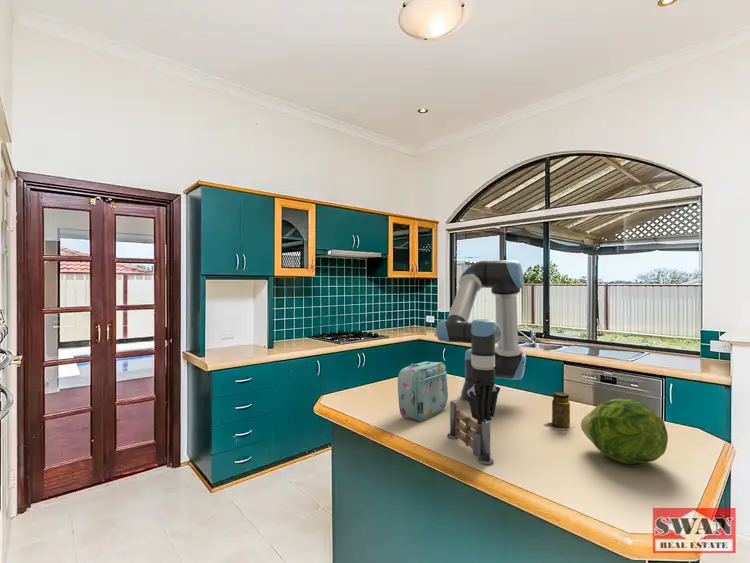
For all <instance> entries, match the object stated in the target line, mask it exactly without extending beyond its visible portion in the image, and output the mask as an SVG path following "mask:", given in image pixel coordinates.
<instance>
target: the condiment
mask: <svg viewBox="0 0 750 563" xmlns="http://www.w3.org/2000/svg"><path fill="white" fill-rule="evenodd" d="M570 408H571V402H570V396H569V394H568V393H566V392H562V391H561V392H560V391H558V392H557V391H556V392H553V399H552V402H551V422H548V423H543V425H544V426H546V427H548V428H552V429H554V430H558V431H561V432H563V431H565V430H569V429H572V428H574V427H575V425H572V424H571V422H570V421H571V409H570Z"/></svg>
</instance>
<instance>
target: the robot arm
mask: <svg viewBox="0 0 750 563" xmlns="http://www.w3.org/2000/svg"><path fill="white" fill-rule="evenodd" d="M524 282H525V281H524V273H523V267H522V265H521V263H520V261H519V260H516V259H515V260H513V259H512V260H510V259H505V260H504V259H503V260H502V259H501V260H500V259H499V260H481V261H477V262H475V263H472V265H470V266H468V267H467V268H466V269H465V270H464V271H463V272H462V273H461V276H460V277H459V281H458V285H459V286H458V289H457V292H456V294H455V298H454V300H453V303H452V305H451V307H450V310H449V313H448V316H447V318H446V320H440V321H438V322H437V325H436V329H435V333H436V338H437V340H438V341H439V342H446V343H459V344H463V343H464V344H471V345H470V346H471V348H469V349H467V350H466V351H465V354H464V356H465V357H464V383H463V386H462V389H461V392H460V397H461V399H462V400H464V401H466V400H467V401H466V402H468V403H469V404H468V405H469V408H470V413H471V419H473V420H474V419H475V420H477V421H476V423H478V424H479V425H480V424H481V425H482V421H483V420H487V421H490V422H491V421H492V418H494V417H495V413H496V412H495V411H496V408H497V401H498V396H499V393H500V391H501V387H499V386H497V385H495V380H496V379H505V380H511V381H512V380H514V381H515V380H517V381H520V380H522V379H523V377H524V373H525V368H526V362H527V355H526V353H523V348H521V347H520V345H519V332H518V329H519V327H518V306H517V305H518V304H517V295H518V294H519V293H520V292H521V289H522V288H524V285H525V284H524ZM483 288H485V289H491V291H490V292H491V294H493V295H494V297H495V314H496V315H495V316H496V322H495V321H494V320H492V319H487V318H486V319H485V318H484V319H483V318H482V319H474V320H472V321H469V319H470V315H471V312H472V309H473V306H474V304H475V300H476V296H477V294H478V292H480V291H481V290H482V289H483ZM496 343H497V346H496Z"/></svg>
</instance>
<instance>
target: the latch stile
mask: <svg viewBox="0 0 750 563" xmlns="http://www.w3.org/2000/svg"><path fill="white" fill-rule="evenodd" d="M472 440H473V449H472V454H473V456H475V457H476V458H477V459H478V460H477V461H478V463H479V464H481V465H484V466H492V465H494V463H495V462H494V459H493V458H492V457H491V421H490V420H489V421H487V420H483V421H482V435H481V434H480V433H478V432H477V431H476V430H473V439H472Z"/></svg>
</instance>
